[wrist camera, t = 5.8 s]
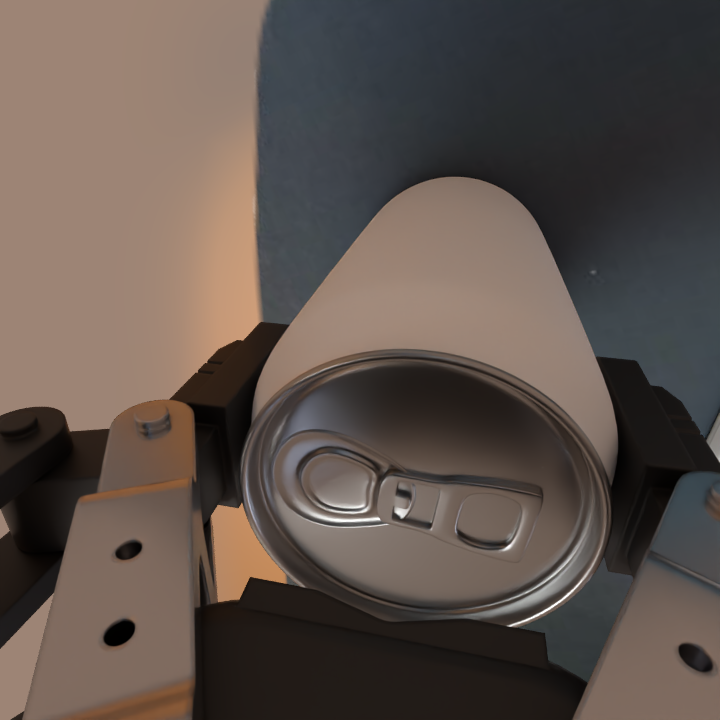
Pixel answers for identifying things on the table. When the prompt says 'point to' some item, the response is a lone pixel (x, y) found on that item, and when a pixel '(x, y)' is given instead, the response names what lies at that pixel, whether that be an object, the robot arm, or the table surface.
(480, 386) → the can
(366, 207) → the table surface
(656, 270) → the table surface
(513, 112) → the table surface
